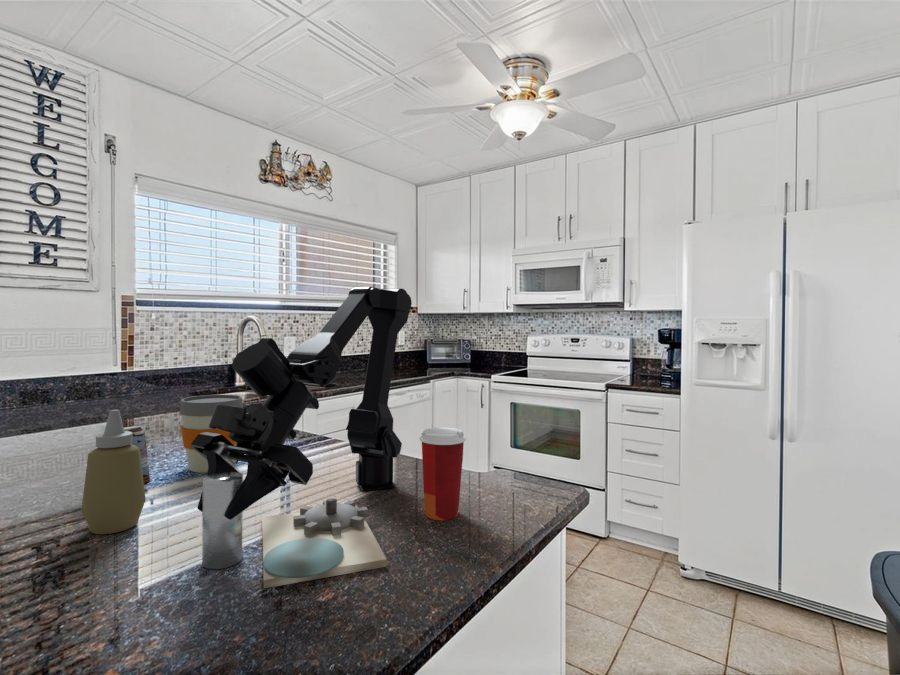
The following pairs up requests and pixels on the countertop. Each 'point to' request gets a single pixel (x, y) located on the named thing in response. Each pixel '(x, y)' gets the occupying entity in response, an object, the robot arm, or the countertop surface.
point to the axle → (220, 521)
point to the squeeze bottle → (113, 480)
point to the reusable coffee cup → (202, 423)
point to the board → (318, 544)
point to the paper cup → (442, 471)
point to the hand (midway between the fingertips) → (213, 514)
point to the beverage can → (141, 450)
